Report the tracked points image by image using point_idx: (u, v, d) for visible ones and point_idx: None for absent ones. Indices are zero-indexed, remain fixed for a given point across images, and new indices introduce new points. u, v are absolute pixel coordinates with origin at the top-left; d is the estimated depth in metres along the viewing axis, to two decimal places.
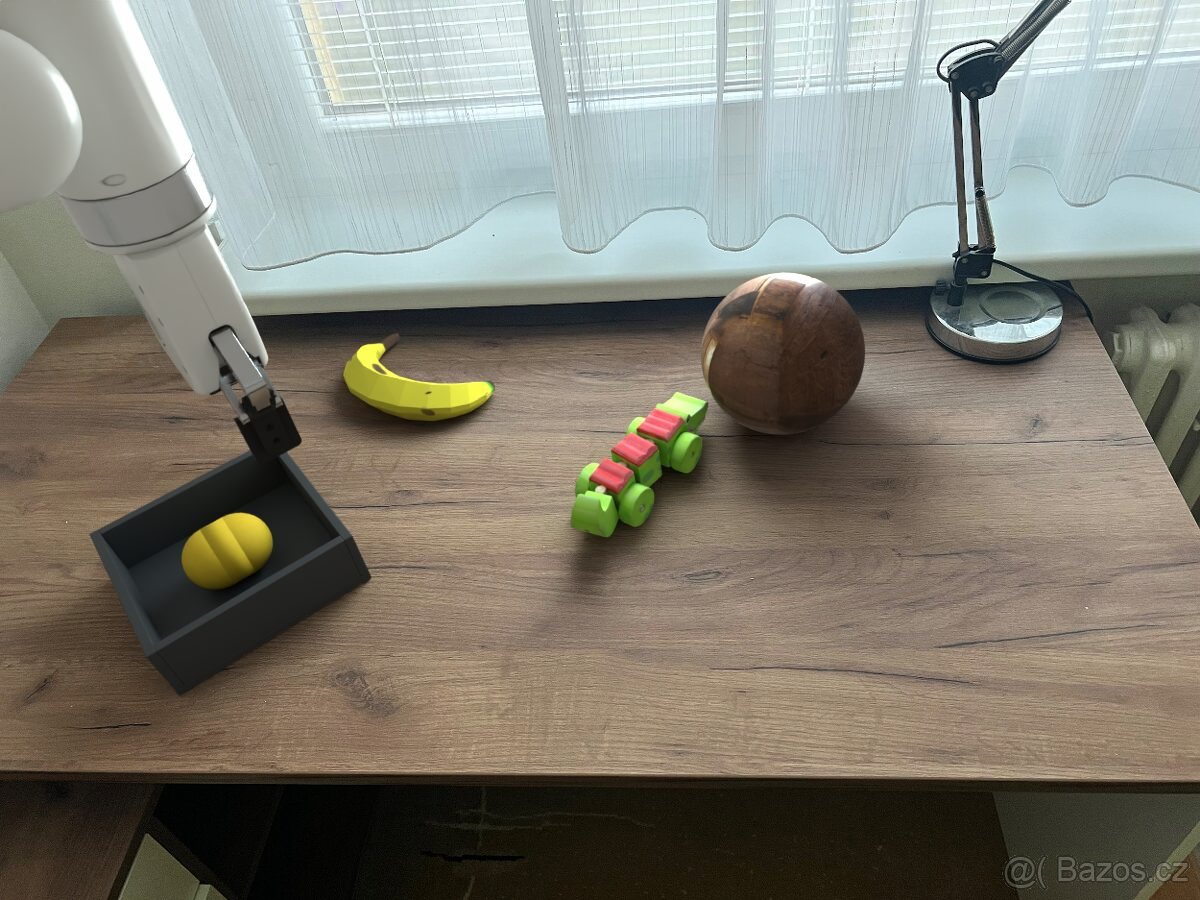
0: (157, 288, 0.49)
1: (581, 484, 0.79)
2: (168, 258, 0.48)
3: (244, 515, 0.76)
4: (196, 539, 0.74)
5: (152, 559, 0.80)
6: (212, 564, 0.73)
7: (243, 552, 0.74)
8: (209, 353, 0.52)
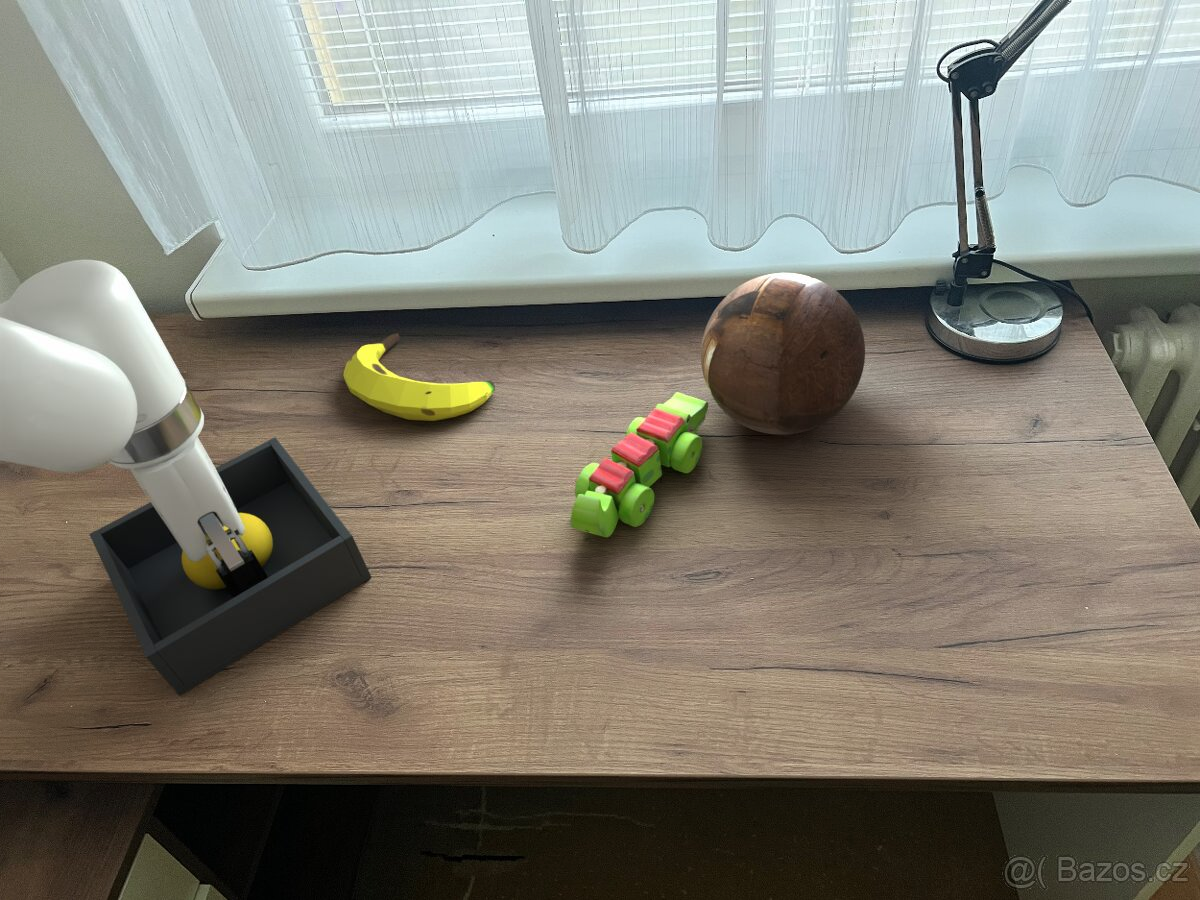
0: (158, 493, 0.64)
1: (581, 484, 0.79)
2: (166, 471, 0.64)
3: (244, 515, 0.76)
4: None
5: (152, 559, 0.80)
6: (212, 564, 0.73)
7: None
8: (198, 533, 0.67)
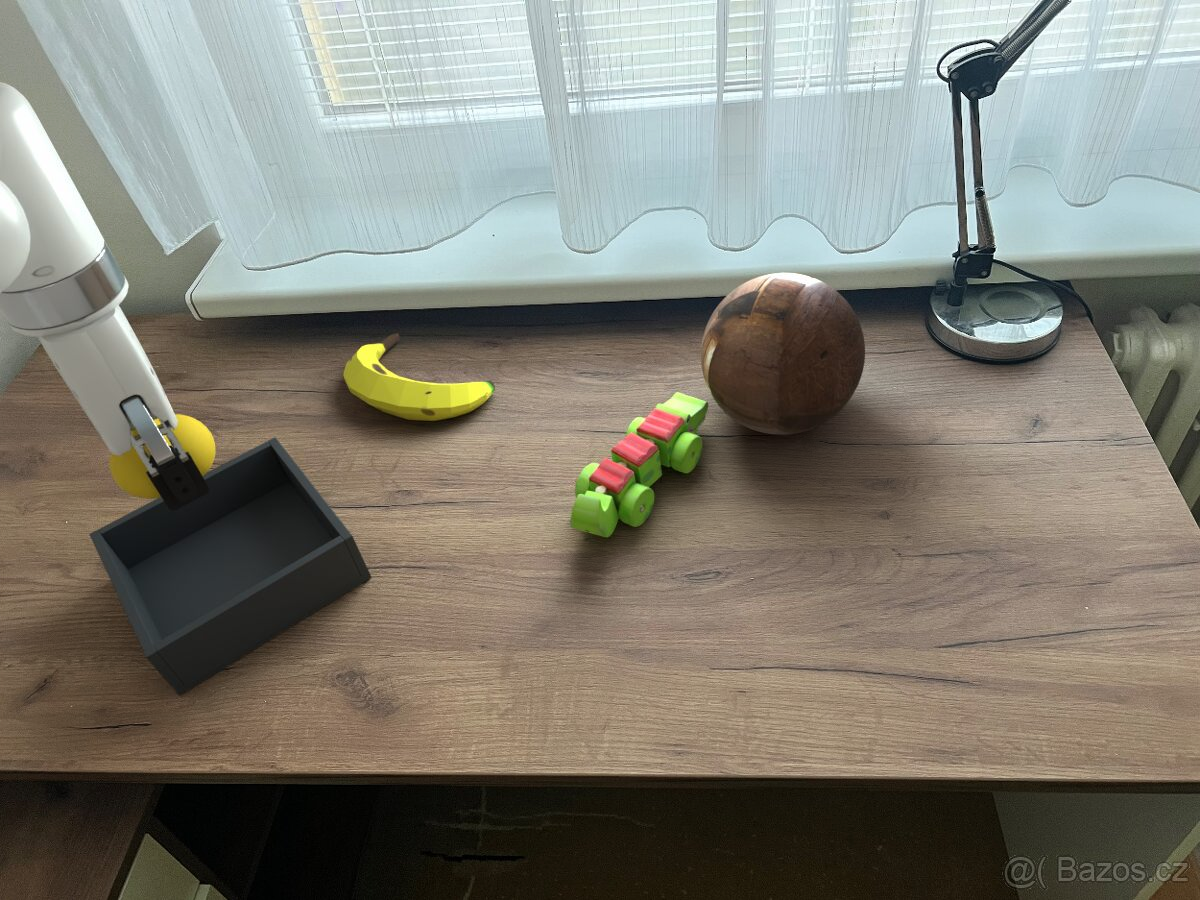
0: (70, 365, 0.56)
1: (581, 484, 0.78)
2: (79, 339, 0.55)
3: (182, 416, 0.68)
4: None
5: (152, 559, 0.80)
6: (143, 466, 0.65)
7: None
8: (120, 419, 0.59)
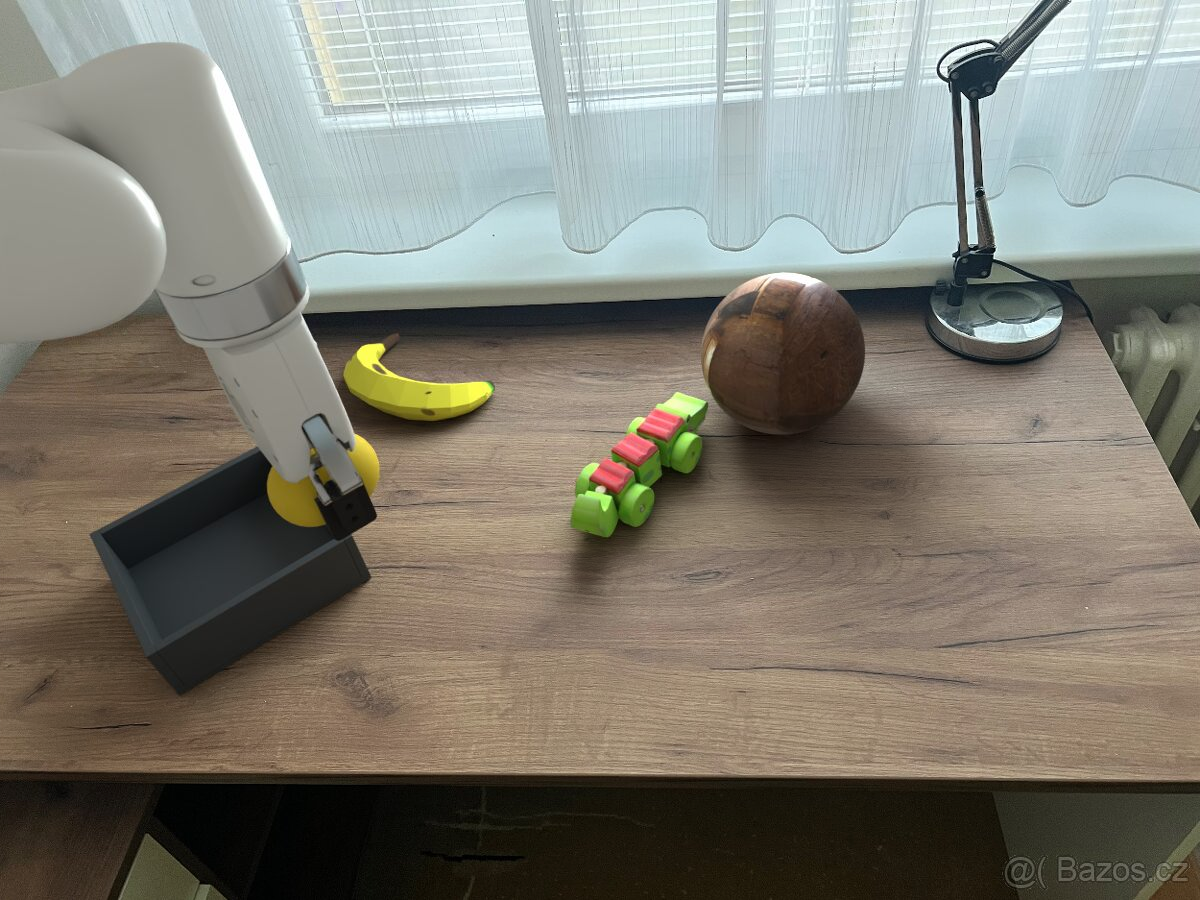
0: (254, 382, 0.47)
1: (581, 484, 0.78)
2: (266, 351, 0.47)
3: None
4: None
5: (152, 559, 0.80)
6: (309, 492, 0.57)
7: None
8: (301, 442, 0.51)
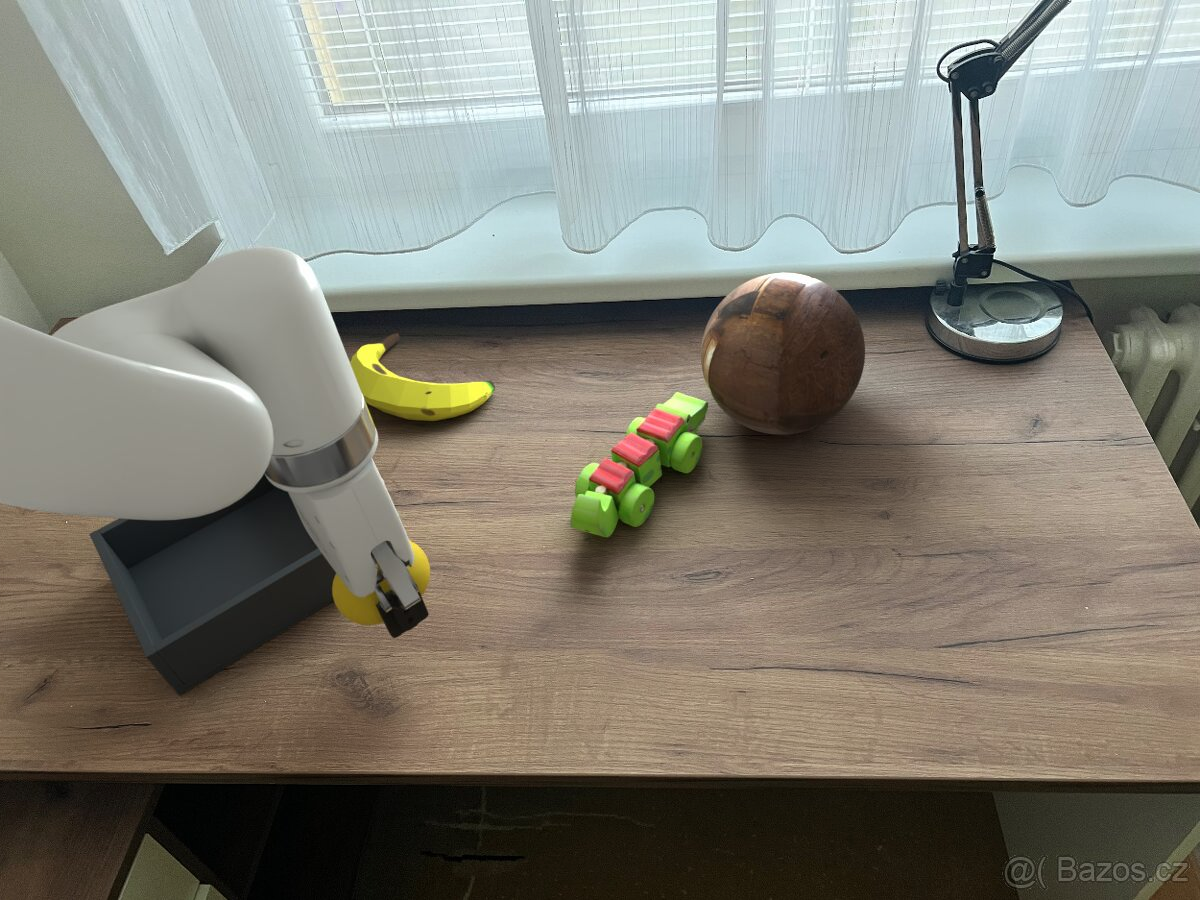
0: (333, 521, 0.55)
1: (581, 484, 0.78)
2: (344, 496, 0.54)
3: None
4: None
5: (152, 559, 0.80)
6: (371, 597, 0.64)
7: None
8: (370, 566, 0.58)
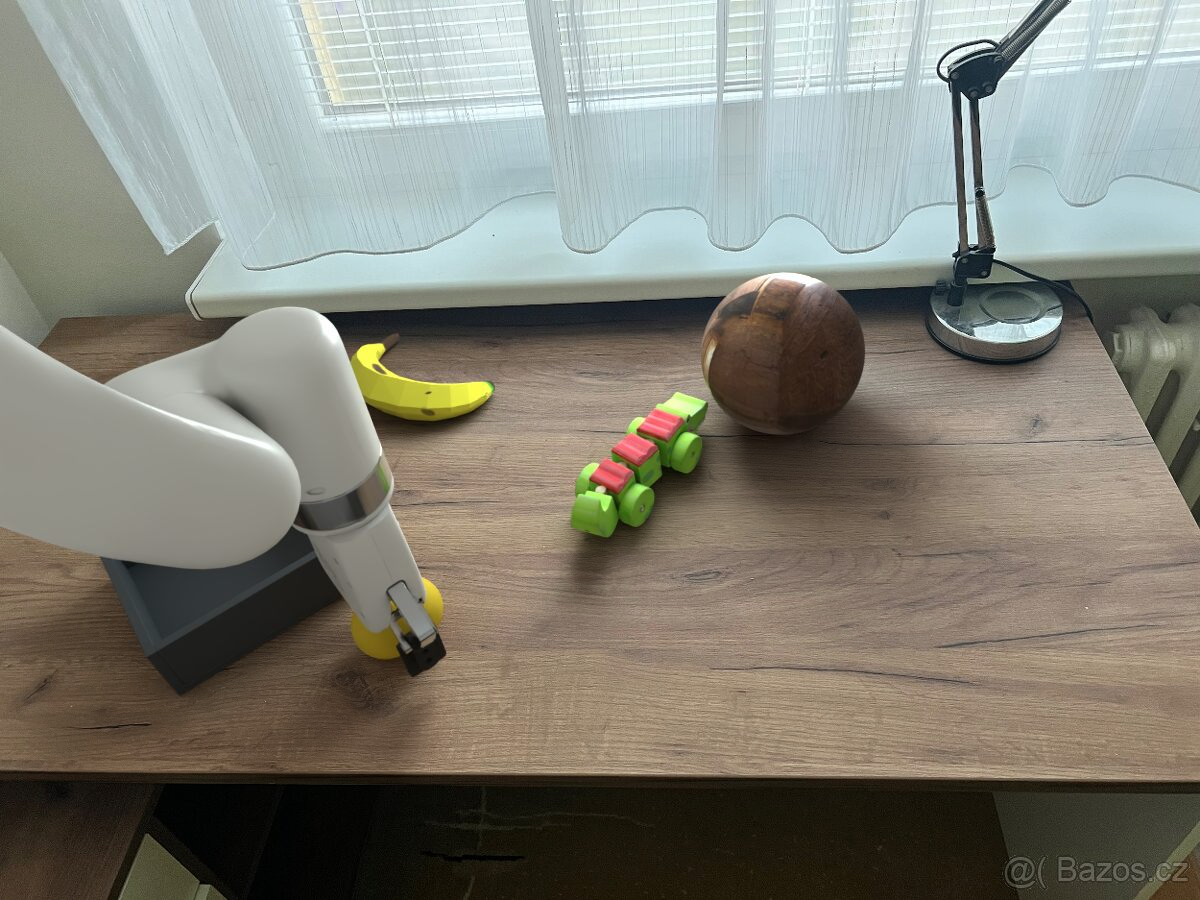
0: (351, 562, 0.58)
1: (581, 484, 0.78)
2: (362, 539, 0.57)
3: None
4: None
5: None
6: (387, 632, 0.68)
7: None
8: (385, 604, 0.61)
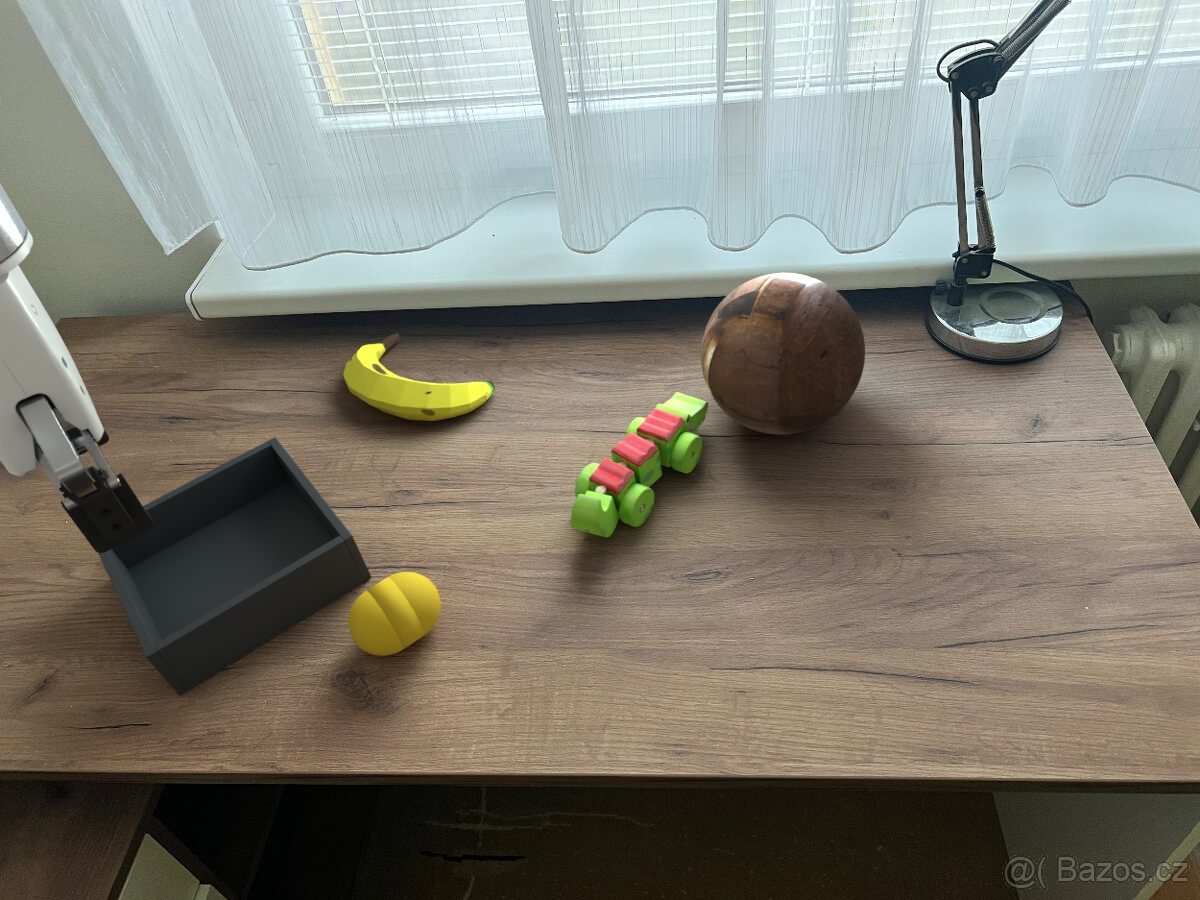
0: None
1: (581, 484, 0.78)
2: None
3: (411, 573, 0.71)
4: (363, 599, 0.69)
5: (152, 559, 0.80)
6: (382, 624, 0.68)
7: (413, 610, 0.69)
8: (18, 427, 0.43)
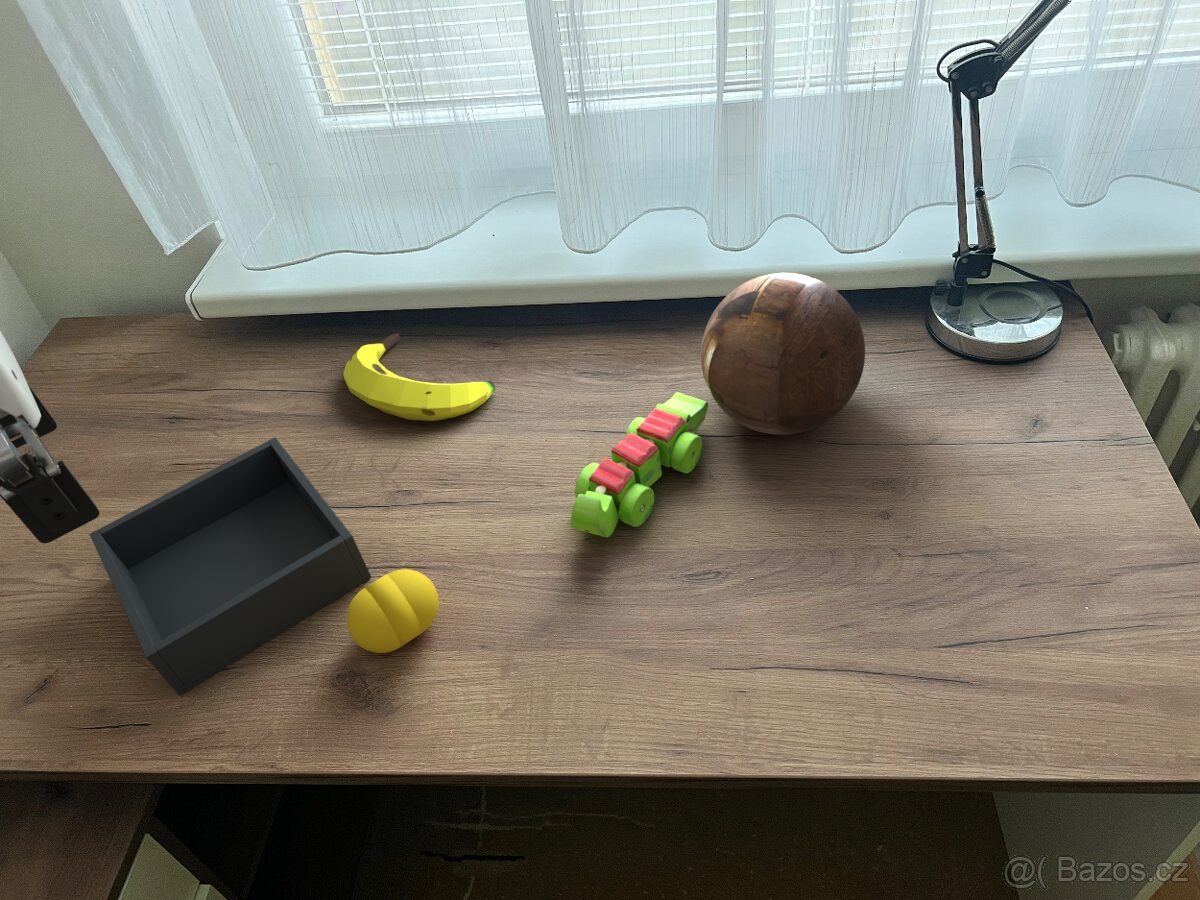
0: None
1: (581, 484, 0.78)
2: None
3: None
4: (360, 595, 0.69)
5: (152, 559, 0.80)
6: (377, 618, 0.68)
7: (408, 604, 0.69)
8: None
